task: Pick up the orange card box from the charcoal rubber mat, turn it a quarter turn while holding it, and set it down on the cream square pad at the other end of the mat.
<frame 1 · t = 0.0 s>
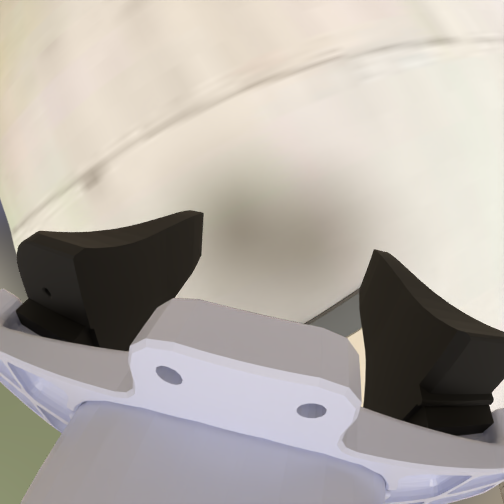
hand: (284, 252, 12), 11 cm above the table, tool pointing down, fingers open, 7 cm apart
mat: (376, 418, 27), on the table
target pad: (343, 381, 26), resting on mat
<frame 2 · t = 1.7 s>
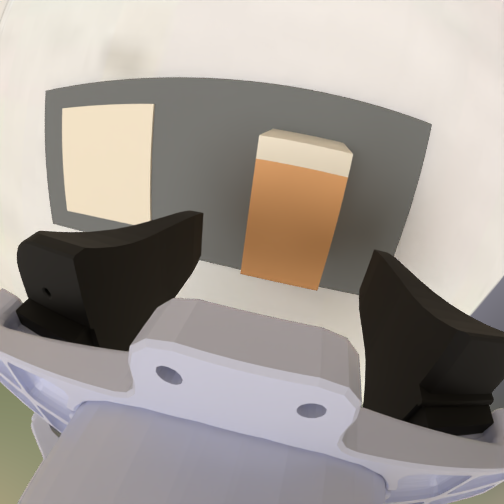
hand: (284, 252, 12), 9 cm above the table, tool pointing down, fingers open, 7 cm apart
mat: (190, 171, 21), on the table
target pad: (106, 161, 22), resting on mat
card box: (297, 192, 19), point 1 cm above the table, touching mat
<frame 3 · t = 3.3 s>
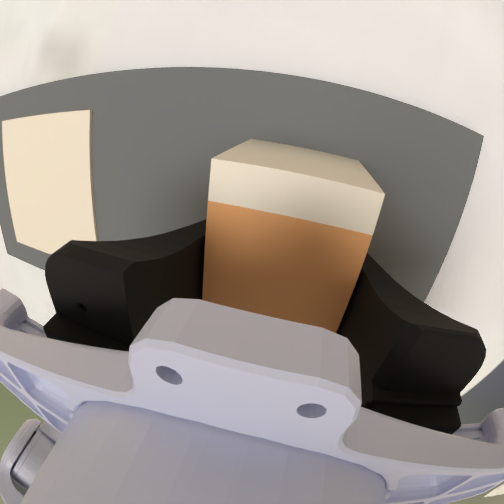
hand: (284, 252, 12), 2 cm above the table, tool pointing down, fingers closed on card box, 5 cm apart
mat: (141, 200, 15), on the table
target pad: (48, 185, 16), resting on mat
card box: (288, 233, 13), point 1 cm above the table, touching gripper, mat
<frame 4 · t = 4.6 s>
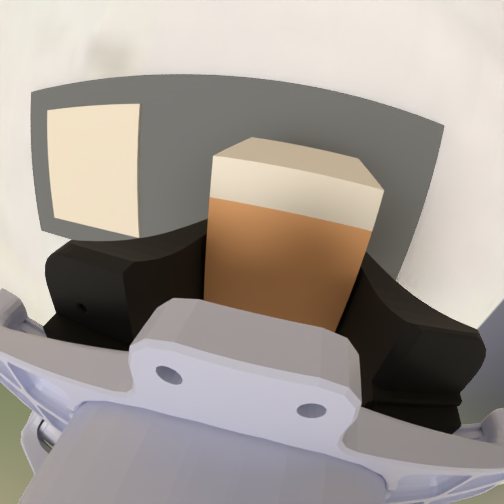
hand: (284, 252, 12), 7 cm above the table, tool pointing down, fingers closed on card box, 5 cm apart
mat: (179, 176, 19), on the table
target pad: (92, 166, 20), resting on mat
card box: (289, 231, 13), point 5 cm above the table, touching gripper
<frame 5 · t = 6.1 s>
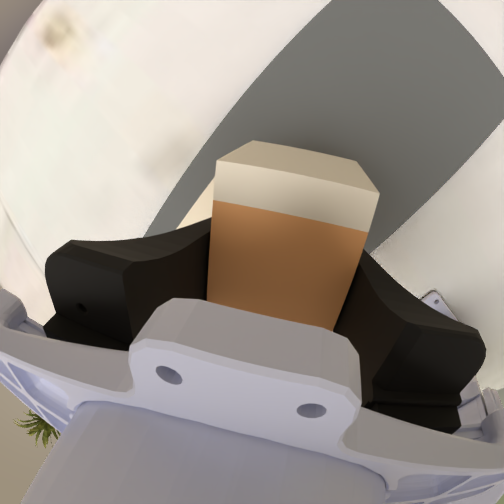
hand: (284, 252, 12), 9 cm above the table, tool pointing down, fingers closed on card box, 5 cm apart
mat: (320, 166, 19), on the table
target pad: (248, 242, 23), resting on mat
house plant: (58, 395, 54), on the table
card box: (289, 231, 14), point 7 cm above the table, touching gripper
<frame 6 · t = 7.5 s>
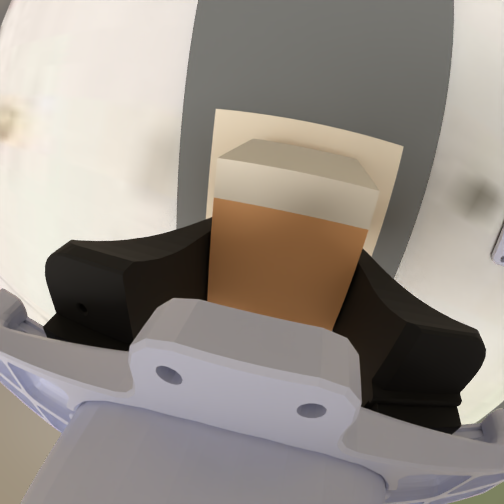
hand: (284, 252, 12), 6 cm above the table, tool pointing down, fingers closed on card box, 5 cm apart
mat: (319, 69, 13), on the table
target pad: (295, 207, 17), resting on mat
card box: (289, 229, 14), point 3 cm above the table, touching gripper
when the fingers open (4 cm above the table, at t = 8.8 s): card box stays where it is, resting on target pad.
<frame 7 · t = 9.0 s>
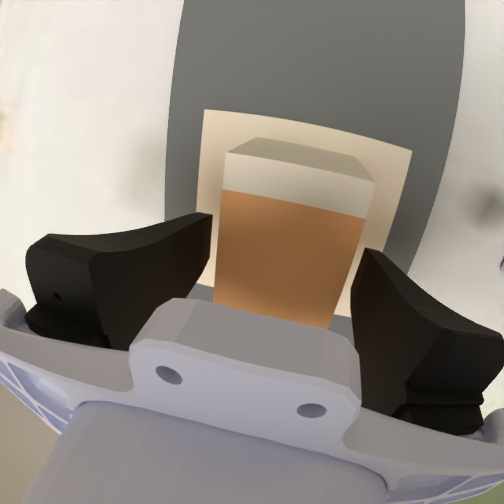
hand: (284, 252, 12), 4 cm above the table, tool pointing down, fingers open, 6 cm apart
mat: (319, 65, 11), on the table
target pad: (292, 217, 15), resting on mat
card box: (291, 223, 15), point 1 cm above the table, touching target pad
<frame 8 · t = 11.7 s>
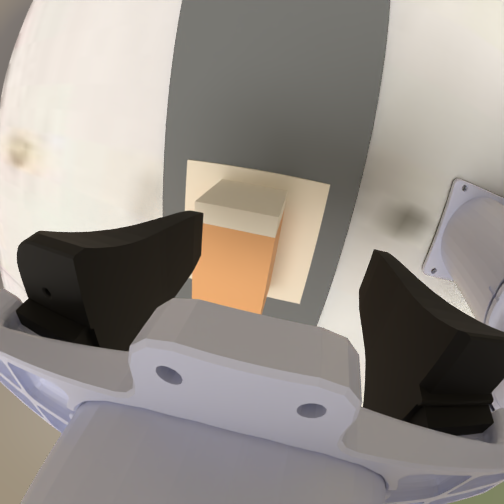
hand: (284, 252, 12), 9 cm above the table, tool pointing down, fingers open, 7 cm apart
mat: (264, 126, 18), on the table
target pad: (249, 231, 22), resting on mat
card box: (247, 236, 22), point 1 cm above the table, touching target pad
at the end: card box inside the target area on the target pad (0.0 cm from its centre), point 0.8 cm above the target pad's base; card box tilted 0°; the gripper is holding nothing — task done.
